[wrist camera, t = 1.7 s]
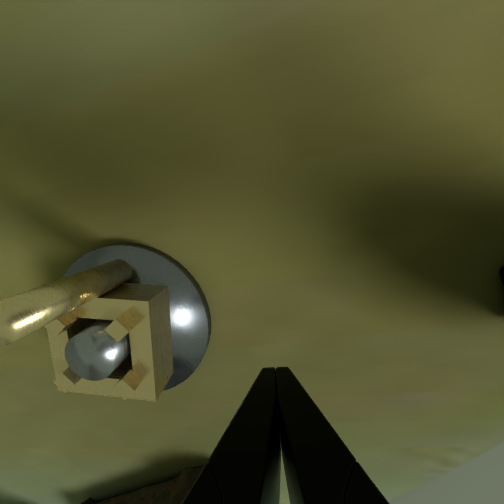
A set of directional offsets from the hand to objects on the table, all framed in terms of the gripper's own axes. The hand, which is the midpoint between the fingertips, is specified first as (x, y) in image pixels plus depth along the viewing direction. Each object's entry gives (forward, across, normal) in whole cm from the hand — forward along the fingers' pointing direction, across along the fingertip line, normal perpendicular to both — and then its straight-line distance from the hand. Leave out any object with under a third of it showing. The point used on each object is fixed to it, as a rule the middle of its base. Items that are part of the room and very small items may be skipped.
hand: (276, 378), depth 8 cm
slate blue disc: (+12, +12, +4) cm, 18 cm away
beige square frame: (+11, +12, +3) cm, 17 cm away
